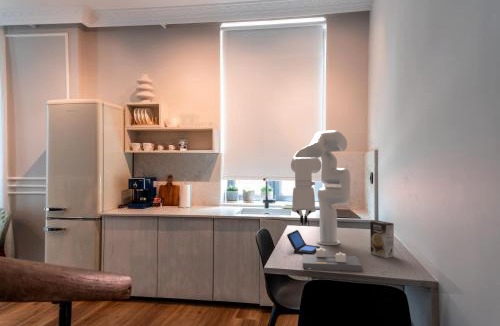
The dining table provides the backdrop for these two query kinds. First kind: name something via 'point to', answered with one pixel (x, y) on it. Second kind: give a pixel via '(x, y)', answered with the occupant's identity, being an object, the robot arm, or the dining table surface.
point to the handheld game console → (300, 244)
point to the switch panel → (331, 263)
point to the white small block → (340, 257)
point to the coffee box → (382, 238)
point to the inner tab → (320, 252)
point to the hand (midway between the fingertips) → (303, 224)
